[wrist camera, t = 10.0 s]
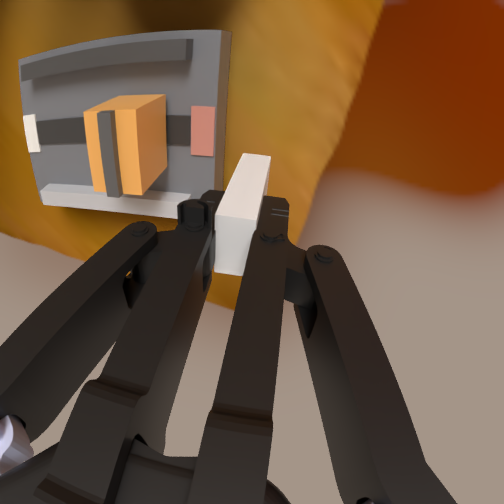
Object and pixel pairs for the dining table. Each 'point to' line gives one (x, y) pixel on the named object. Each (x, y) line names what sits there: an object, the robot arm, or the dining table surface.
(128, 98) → the breaker toggle
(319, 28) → the dining table surface
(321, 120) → the dining table surface
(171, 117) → the breaker panel
